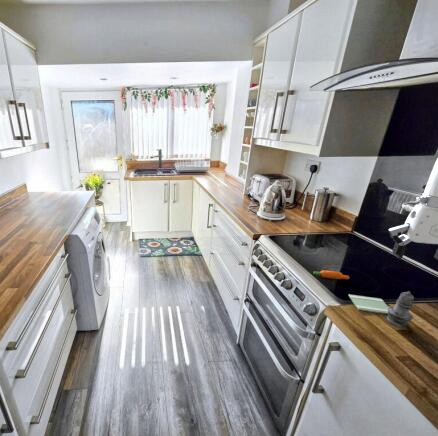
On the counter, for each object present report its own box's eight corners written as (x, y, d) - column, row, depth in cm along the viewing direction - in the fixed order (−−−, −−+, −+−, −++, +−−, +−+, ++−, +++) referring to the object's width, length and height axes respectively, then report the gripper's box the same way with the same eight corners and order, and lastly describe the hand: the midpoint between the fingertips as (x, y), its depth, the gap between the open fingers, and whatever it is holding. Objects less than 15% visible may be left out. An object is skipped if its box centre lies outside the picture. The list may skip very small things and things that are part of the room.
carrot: (346, 277, 100) (348, 271, 99) (350, 282, 97) (352, 275, 96) (312, 273, 104) (313, 267, 103) (314, 277, 101) (315, 271, 100)
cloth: (348, 295, 90) (348, 294, 90) (380, 299, 87) (381, 298, 87) (358, 309, 83) (358, 308, 83) (394, 315, 80) (395, 314, 80)
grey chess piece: (408, 331, 74) (423, 300, 70) (382, 321, 78) (394, 291, 74) (410, 321, 77) (424, 291, 73) (385, 312, 82) (397, 282, 77)
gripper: (410, 204, 62) (388, 261, 69) (500, 208, 58) (469, 269, 64) (392, 196, 69) (374, 248, 75) (472, 199, 64) (446, 255, 70)
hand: (417, 258), depth 69 cm, fingers open, 9 cm apart
